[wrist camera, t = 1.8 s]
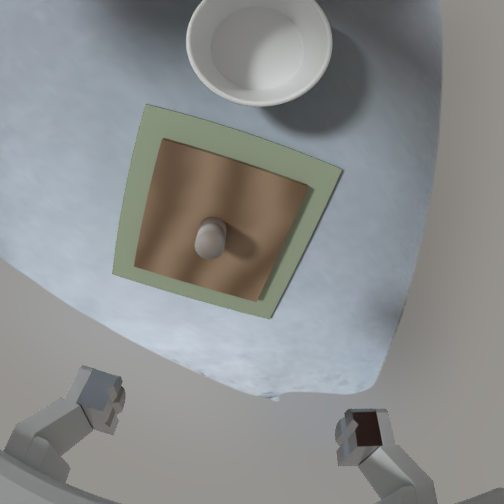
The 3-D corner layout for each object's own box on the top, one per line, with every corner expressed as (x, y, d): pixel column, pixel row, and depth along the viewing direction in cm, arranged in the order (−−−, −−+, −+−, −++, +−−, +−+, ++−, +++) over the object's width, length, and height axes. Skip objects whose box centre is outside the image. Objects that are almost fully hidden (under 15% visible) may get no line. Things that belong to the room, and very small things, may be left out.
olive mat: (113, 272, 39) (112, 273, 39) (146, 104, 29) (145, 104, 29) (269, 317, 43) (269, 319, 43) (341, 168, 33) (342, 169, 33)
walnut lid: (136, 262, 38) (123, 285, 34) (164, 137, 31) (150, 147, 27) (256, 297, 41) (257, 323, 37) (306, 184, 34) (316, 200, 29)
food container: (241, 125, 31) (240, 134, 25) (174, 37, 26) (157, 27, 20) (338, 67, 28) (359, 63, 22) (273, -22, 23) (279, -44, 17)
